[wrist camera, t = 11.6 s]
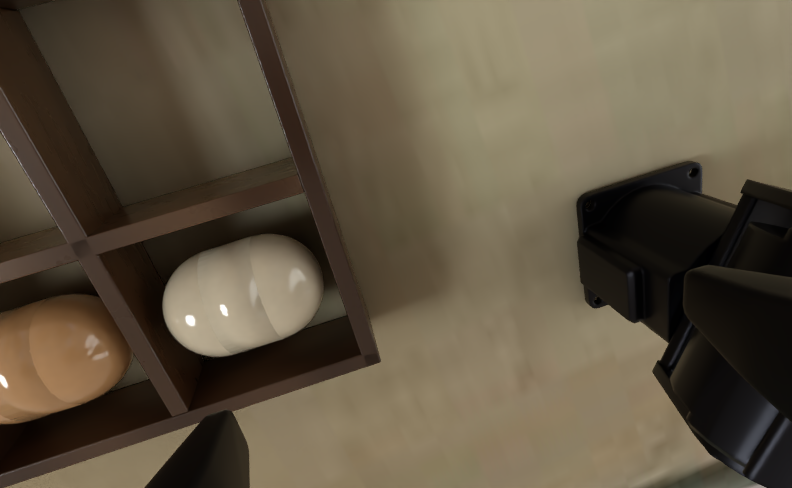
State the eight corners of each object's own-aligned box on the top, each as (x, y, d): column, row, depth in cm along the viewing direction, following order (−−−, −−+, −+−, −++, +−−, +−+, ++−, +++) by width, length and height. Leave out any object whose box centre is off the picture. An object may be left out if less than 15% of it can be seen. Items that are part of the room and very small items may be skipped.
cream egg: (304, 206, 20) (304, 243, 16) (334, 290, 22) (341, 342, 18) (159, 250, 20) (123, 298, 16) (202, 332, 22) (179, 395, 18)
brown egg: (120, 262, 20) (73, 314, 16) (166, 344, 21) (135, 409, 17) (-34, 308, 19) (-122, 374, 15) (26, 388, 21) (-39, 466, 17)
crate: (241, -72, 16) (227, -104, 13) (370, 320, 23) (381, 362, 20) (-270, 57, 15) (-425, 56, 12) (27, 431, 22) (-20, 496, 19)
